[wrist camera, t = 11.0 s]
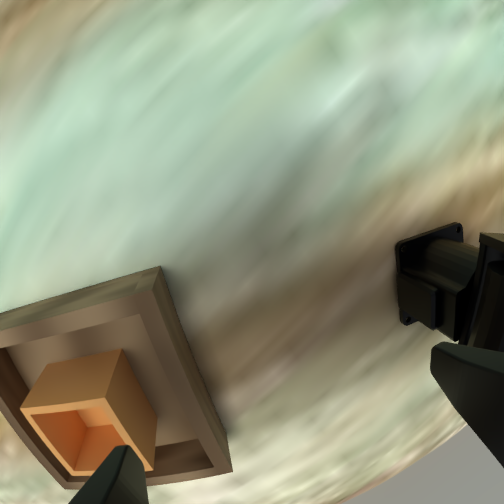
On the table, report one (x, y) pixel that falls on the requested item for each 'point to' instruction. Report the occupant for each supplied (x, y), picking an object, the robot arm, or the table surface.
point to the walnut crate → (139, 357)
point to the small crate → (91, 411)
